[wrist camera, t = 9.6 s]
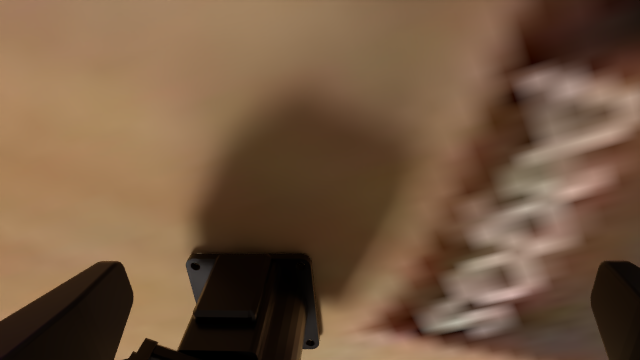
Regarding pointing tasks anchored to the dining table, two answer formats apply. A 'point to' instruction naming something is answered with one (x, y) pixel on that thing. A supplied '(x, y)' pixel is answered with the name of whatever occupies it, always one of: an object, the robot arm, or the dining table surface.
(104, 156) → the dining table surface
